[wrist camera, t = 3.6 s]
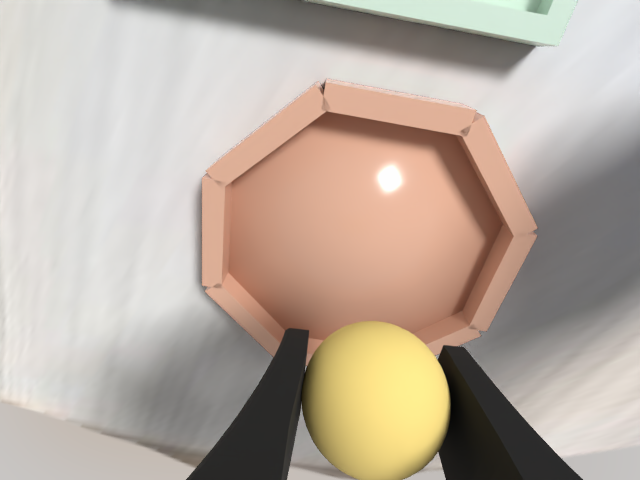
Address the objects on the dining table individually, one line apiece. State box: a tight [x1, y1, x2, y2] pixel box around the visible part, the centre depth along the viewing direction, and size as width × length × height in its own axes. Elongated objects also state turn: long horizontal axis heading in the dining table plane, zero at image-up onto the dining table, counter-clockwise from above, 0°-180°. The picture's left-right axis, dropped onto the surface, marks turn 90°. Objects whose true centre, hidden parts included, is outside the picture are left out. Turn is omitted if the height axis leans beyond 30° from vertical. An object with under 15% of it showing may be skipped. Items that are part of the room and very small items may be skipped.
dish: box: [202, 79, 538, 366], centre depth 18 cm, size 15×15×2 cm
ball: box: [301, 321, 451, 480], centre depth 10 cm, size 4×4×4 cm
